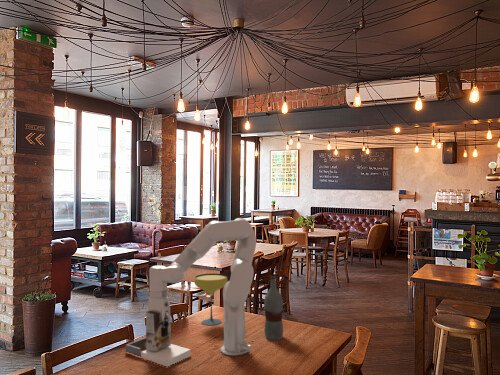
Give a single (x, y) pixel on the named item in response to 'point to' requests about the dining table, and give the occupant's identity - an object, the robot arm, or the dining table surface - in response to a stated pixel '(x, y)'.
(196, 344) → the dining table surface
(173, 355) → the white flat block
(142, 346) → the tile
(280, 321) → the bottle
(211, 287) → the cocktail glass
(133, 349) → the tray
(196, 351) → the dining table surface
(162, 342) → the coffee box
